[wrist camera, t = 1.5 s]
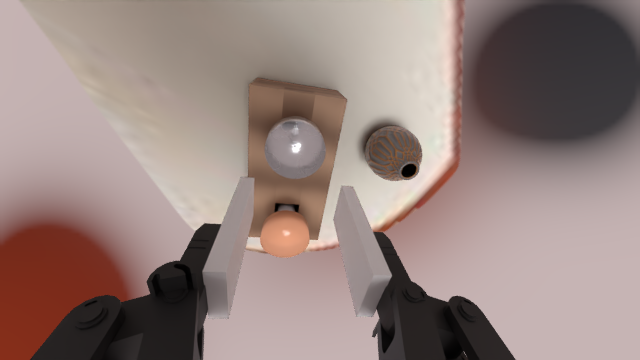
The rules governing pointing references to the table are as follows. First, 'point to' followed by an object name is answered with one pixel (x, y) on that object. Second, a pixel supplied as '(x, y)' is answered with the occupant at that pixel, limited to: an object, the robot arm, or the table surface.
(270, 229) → the terracotta plunger
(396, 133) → the vase
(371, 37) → the table surface
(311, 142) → the grey plunger
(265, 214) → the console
